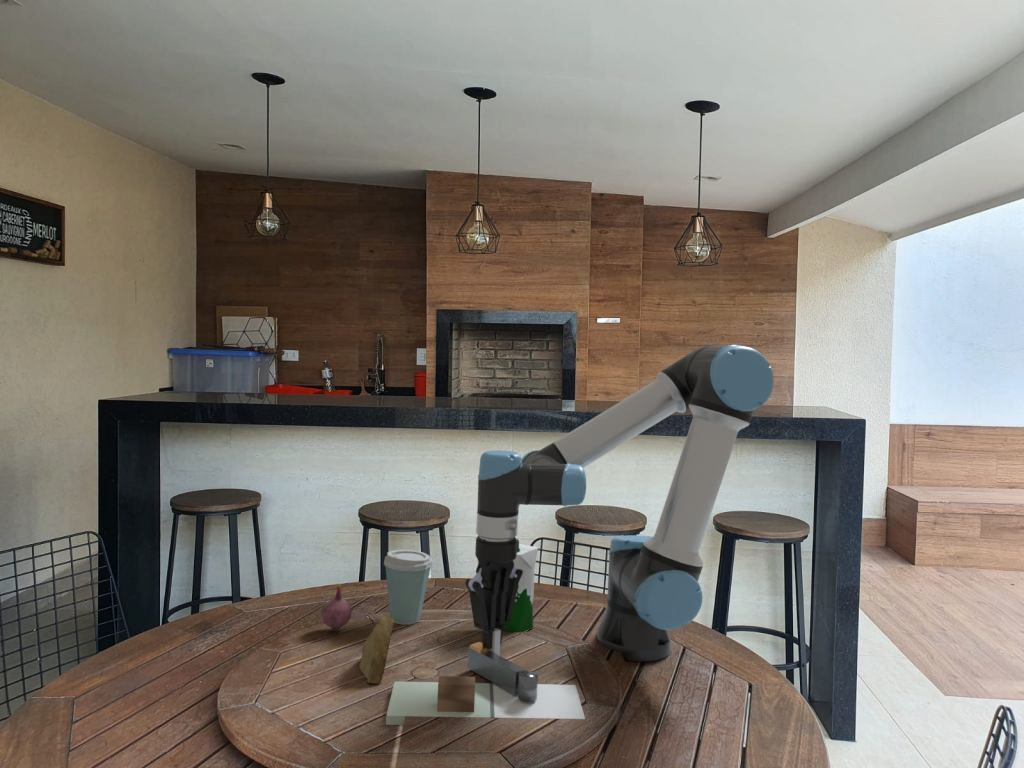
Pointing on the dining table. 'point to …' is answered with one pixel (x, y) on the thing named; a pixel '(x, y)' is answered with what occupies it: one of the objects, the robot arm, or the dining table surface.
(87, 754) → the dining table surface
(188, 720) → the dining table surface
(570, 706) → the door plate
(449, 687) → the block
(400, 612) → the disposable coffee cup
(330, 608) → the vegetable
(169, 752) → the dining table surface
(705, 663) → the dining table surface
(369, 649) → the rock
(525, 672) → the bar
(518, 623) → the milk carton
